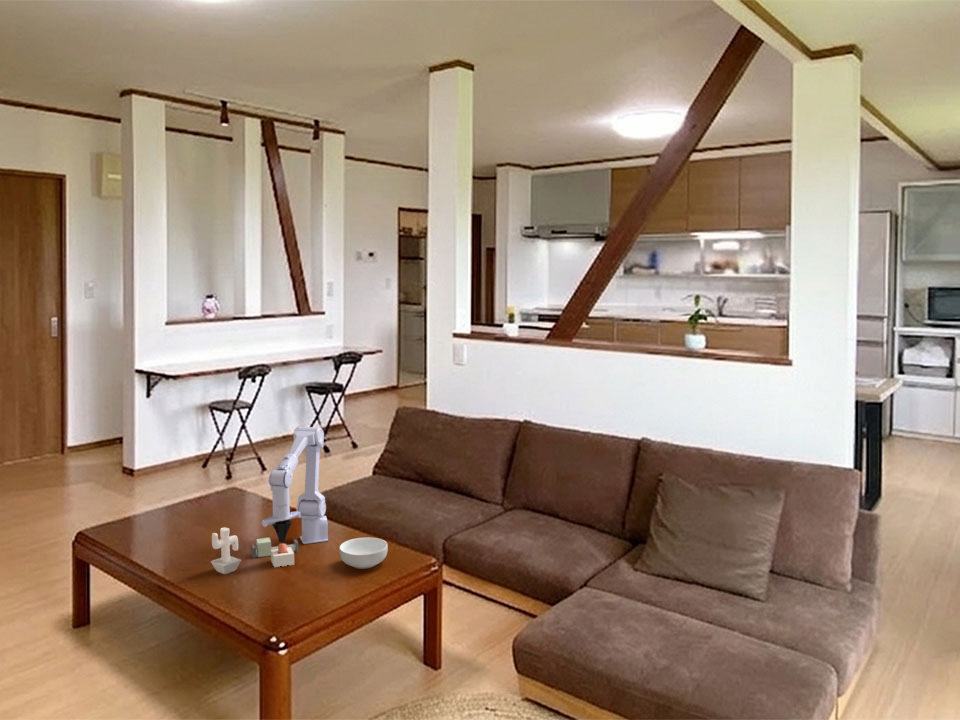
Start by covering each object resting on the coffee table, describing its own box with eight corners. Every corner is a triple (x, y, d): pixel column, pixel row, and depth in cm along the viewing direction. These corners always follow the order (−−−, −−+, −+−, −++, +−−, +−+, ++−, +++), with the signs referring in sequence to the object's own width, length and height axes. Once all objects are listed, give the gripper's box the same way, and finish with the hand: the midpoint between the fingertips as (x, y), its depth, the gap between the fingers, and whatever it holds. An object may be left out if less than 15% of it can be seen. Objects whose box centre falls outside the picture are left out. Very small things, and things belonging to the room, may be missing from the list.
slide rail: (296, 548, 288) (296, 539, 288) (298, 551, 284) (298, 542, 284) (251, 554, 282) (251, 544, 281) (253, 558, 278) (253, 548, 278)
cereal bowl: (341, 556, 280) (341, 537, 279) (387, 555, 282) (387, 536, 281) (338, 575, 263) (337, 554, 262) (387, 573, 265) (387, 553, 264)
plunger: (285, 554, 275) (285, 543, 275) (287, 557, 273) (286, 545, 272) (277, 555, 274) (277, 544, 274) (279, 558, 272) (278, 546, 271)
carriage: (269, 551, 285) (269, 537, 284) (271, 555, 280) (271, 541, 280) (256, 552, 283) (256, 539, 282) (258, 557, 278) (257, 543, 278)
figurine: (244, 569, 268) (243, 527, 266) (220, 577, 260) (219, 534, 258) (231, 564, 272) (230, 522, 270) (207, 572, 264) (206, 530, 263)
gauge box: (291, 557, 278) (290, 547, 278) (294, 564, 272) (294, 553, 271) (271, 560, 276) (270, 549, 275) (273, 567, 269) (273, 556, 269)
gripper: (292, 497, 279) (293, 533, 281) (256, 505, 269) (257, 543, 270) (303, 501, 275) (304, 538, 276) (267, 510, 264) (268, 548, 266)
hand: (282, 541), depth 273 cm, fingers closed
